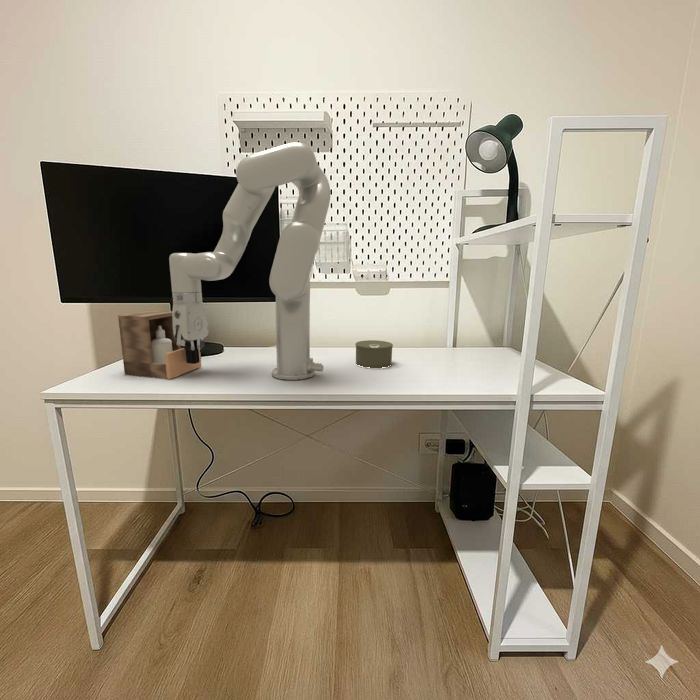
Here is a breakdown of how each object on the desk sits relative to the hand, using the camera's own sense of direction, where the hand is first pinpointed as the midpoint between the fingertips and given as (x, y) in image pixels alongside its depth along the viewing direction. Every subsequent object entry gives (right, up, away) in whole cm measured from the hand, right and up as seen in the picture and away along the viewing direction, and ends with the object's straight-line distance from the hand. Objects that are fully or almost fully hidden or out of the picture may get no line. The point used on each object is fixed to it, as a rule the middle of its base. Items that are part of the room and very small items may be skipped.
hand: (193, 362), depth 112 cm
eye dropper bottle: (-10, -1, +3) cm, 10 cm away
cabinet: (-10, -3, +3) cm, 11 cm away
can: (+53, -1, +15) cm, 55 cm away
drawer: (-9, -2, +3) cm, 10 cm away
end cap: (-9, +1, +21) cm, 23 cm away
